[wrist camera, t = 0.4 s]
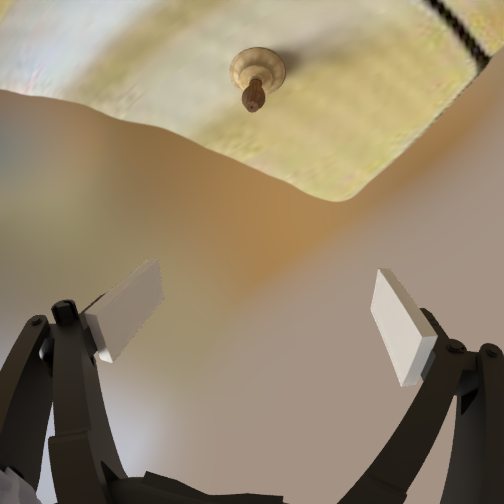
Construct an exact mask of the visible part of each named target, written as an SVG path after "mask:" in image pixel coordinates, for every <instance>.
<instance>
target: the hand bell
mask: <svg viewBox="0 0 504 504" xmlns="http://www.w3.org/2000/svg"><path fill="white" fill-rule="evenodd" d="M230 76H231V79H232V81H233V83H234V85H235V86H236V87H237V88H238V89H239V90H241V91H242V92H243V94H242V102H243V105H244V106H245V108H246V109H247V110H248V111H249V112H252V113H253V112H256V111H257V110H258V109H260V108H261V107H262V106H263V104H264V102H265V95H267V94H270V93H272V92H274V91H275V90H277V89H278V88H279V87H280V86H281V84H282V83H283V81H284V78H285V67H284V64H283V62H282V60H281V59H280V58H279V56H278V55H276V54H275V53H274V52H272V51H270V50H268V49H264V48H250V49H247V50H244V51H242V52H241V53H239V54H238V55H237V56H236V57H235V58H234V60H233V61H232V64H231V67H230Z"/></svg>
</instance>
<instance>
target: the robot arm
mask: <svg viewBox="0 0 504 504" xmlns="http://www.w3.org/2000/svg"><path fill="white" fill-rule="evenodd" d="M163 300H164V293H163V287H162V280H161V275H160V267H159V260H158V259H157V260H156V259H147V260H146V261H145V262H144V263H142V264H141V265H140V266H139V267H137V269H135V270H134V271H133V272H131V273H130V274H129V275H128V276H126V277H125V278H124V279H123V280H122V281H120V282H119V283H118V284H117V285H115V286H114V287H113V288H112V289H111V290H110V291H108V292H107V293H105V294H103V295H101V296H100V297H99V298H97V299H96V300H95V301H94V302H93V303H91V305H89V306H88V307H87V308H86V309H85V310H83V311H82V312H81V313H80V314H78V311H77V309H76V305H75V302H74V301H73V300H62V301H59V302H57V303H56V304H54V305H53V306H52V308H51V310H52V313H53V316H54V319H55V321H56V324H49V322H48V320H47V317H46V316H45V315H35V316H33V317H32V318H31V319H29V320H28V321H27V323H26V324H25V326H24V328H23V330H22V331H21V333H20V335H19V337H18V339H17V340H16V342H15V344H14V345H13V347H12V349H11V351H10V353H9V355H8V357H7V359H6V361H5V363H4V365H3V367H2V369H1V371H0V504H42V503H41V502H40V500H39V499H37V496H36V491H37V487H38V483H39V479H40V472H41V463H42V456H43V449H44V442H45V436H46V431H47V425H48V420H49V416H50V410H51V407H52V402H53V410H54V426H55V436H52V437H49V439H48V449H49V458H50V465H51V472H52V477H53V483H54V488H55V493H56V497H57V501H58V503H55V504H287V503H284V502H283V496H274V495H260V494H249V493H246V494H231V495H208V494H205V493H203V492H200V491H198V490H196V489H194V488H192V487H190V486H187V485H185V484H184V483H181V482H180V481H178V480H175V479H171V478H168V477H164V476H160V475H157V474H154V473H151V472H148V471H146V473H145V475H144V477H129V478H128V476H127V475H126V473H125V471H124V469H123V467H122V465H121V462H120V459H119V456H118V453H117V450H116V446H115V443H114V440H113V437H112V433H111V430H110V426H109V422H108V418H107V414H106V410H105V407H104V402H103V397H102V392H101V388H100V383H99V377H98V371H97V365H96V360H95V358H94V354H95V353H96V351H98V353H99V356H100V358H101V360H104V361H107V362H111V363H113V362H114V361H115V360H116V358H117V357H118V356H119V355H120V353H121V352H122V351H123V350H124V348H125V347H126V346H127V344H128V343H129V342H130V341H131V339H132V338H133V337H134V336H135V334H136V333H137V332H138V331H139V329H140V328H141V327H142V326H143V324H144V323H145V322H146V321H147V319H148V318H149V317H150V316H151V314H152V313H153V312H154V311H155V310H156V308H157V307H158V306H159V305H160V304H161V302H162V301H163ZM371 312H372V314H373V316H374V319H375V321H376V323H377V326H378V328H379V331H380V333H381V335H382V338H383V340H384V343H385V345H386V348H387V350H388V353H389V355H390V358H391V360H392V363H393V366H394V368H395V371H396V374H397V376H398V379H399V382H400V385H401V387H406V386H414V385H416V384H417V382H418V380H419V378H420V376H421V377H422V379H423V381H424V382H423V384H422V386H421V388H420V390H419V392H418V393H417V395H416V397H415V399H414V401H413V403H412V404H411V406H410V408H409V409H408V411H407V413H406V414H405V416H404V418H403V419H402V421H401V423H400V424H399V426H398V427H397V429H396V430H395V432H394V433H393V435H392V436H391V438H390V439H389V441H388V442H387V444H386V445H385V446H384V448H383V449H382V451H381V452H380V453H379V455H378V456H377V457H376V459H375V460H374V462H373V463H372V464H371V465H370V466H369V468H368V469H367V470H366V471H365V473H364V474H363V475H362V476H361V477H360V479H359V480H358V481H357V482H356V483H355V485H354V486H353V487H352V488H351V489H350V490H349V491H348V492H347V494H346V495H345V496H344V497H343V498H342V499H341V500H340V501H339V502H338V503H337V504H403V503H404V501H405V499H406V497H407V494H406V492H407V490H408V488H409V487H410V485H411V483H412V482H413V480H414V478H415V477H416V475H417V474H418V472H419V470H420V468H421V467H422V465H423V463H424V461H425V459H426V457H427V456H428V454H429V452H430V450H431V448H432V446H433V444H434V442H435V440H436V437H437V435H438V433H439V431H440V429H441V426H442V424H443V422H444V419H445V417H446V415H447V412H448V409H449V407H450V404H451V402H452V399H453V396H454V395H456V396H457V407H456V420H455V430H454V439H453V445H452V452H451V458H450V463H449V468H448V473H447V478H446V482H445V486H444V490H443V494H442V498H441V501H440V504H504V355H503V353H502V350H500V348H499V347H498V346H496V345H494V344H491V343H486V344H483V345H482V346H481V348H480V350H479V352H471V351H467V349H466V347H465V345H463V344H462V343H461V342H460V341H458V340H455V339H449V337H448V336H447V335H446V333H445V332H444V330H443V329H442V327H441V326H440V325H439V323H438V322H437V320H436V319H435V317H434V316H433V315H432V313H430V312H429V311H428V310H426V309H425V308H419V307H418V306H417V304H416V303H415V301H414V300H413V299H412V297H411V296H410V295H409V293H408V292H407V290H406V289H405V288H404V286H403V285H402V284H401V282H400V281H399V280H398V278H397V277H396V276H395V274H394V273H393V272H392V271H391V269H382V268H379V269H378V273H377V279H376V285H375V291H374V295H373V300H372V305H371ZM40 357H41V358H40Z"/></svg>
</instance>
